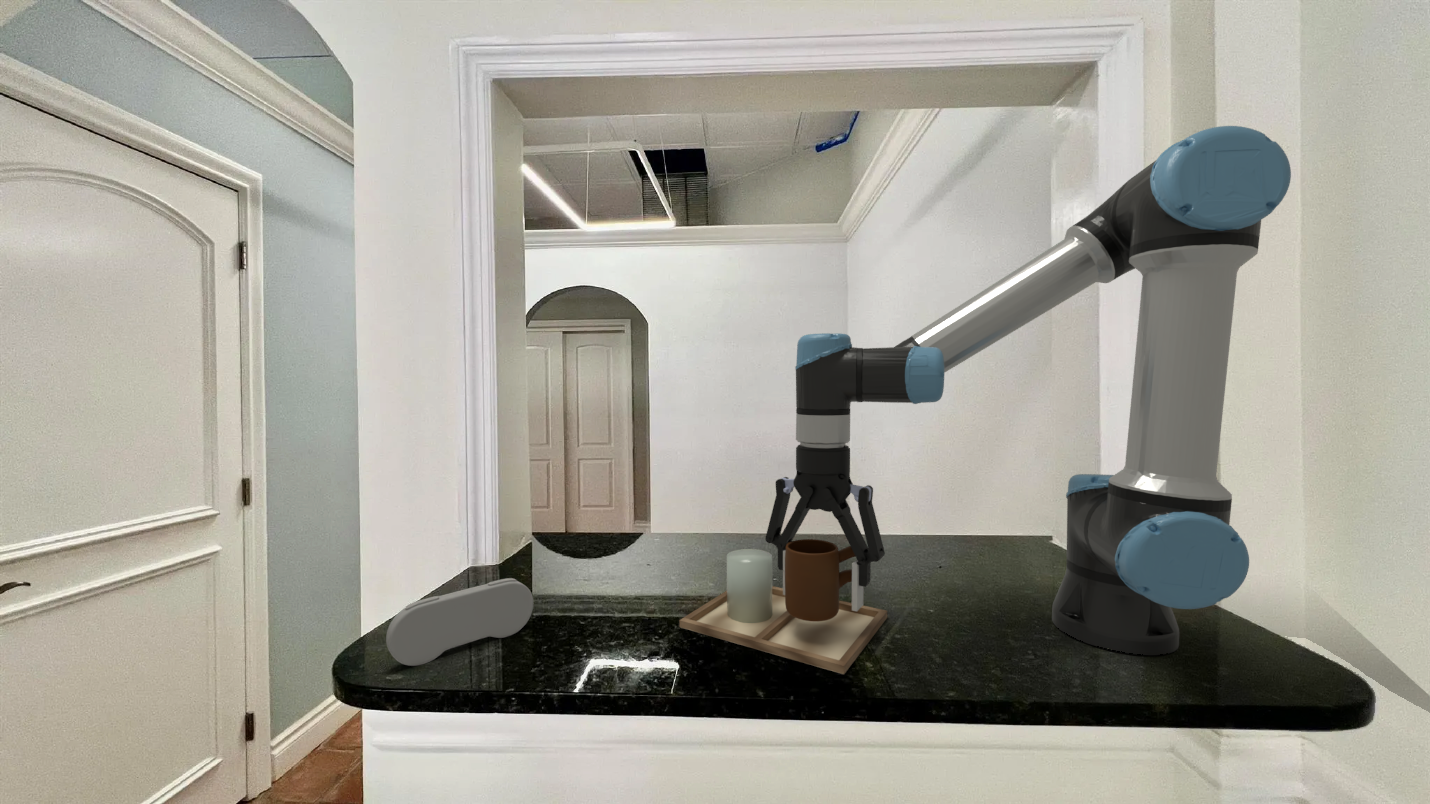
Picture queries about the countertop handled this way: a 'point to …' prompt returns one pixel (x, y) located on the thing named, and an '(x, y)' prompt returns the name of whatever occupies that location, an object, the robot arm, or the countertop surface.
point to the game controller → (458, 620)
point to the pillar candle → (749, 585)
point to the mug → (814, 578)
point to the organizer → (793, 631)
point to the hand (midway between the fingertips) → (822, 599)
